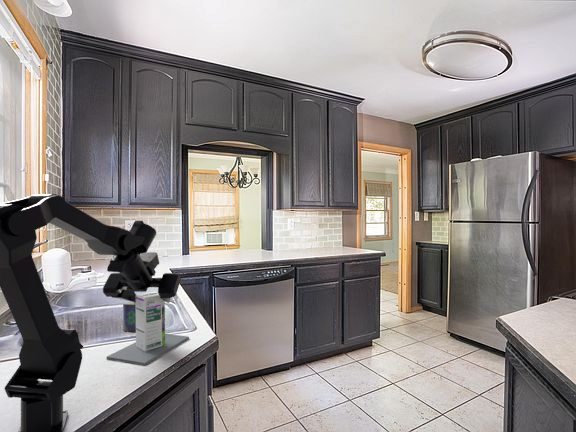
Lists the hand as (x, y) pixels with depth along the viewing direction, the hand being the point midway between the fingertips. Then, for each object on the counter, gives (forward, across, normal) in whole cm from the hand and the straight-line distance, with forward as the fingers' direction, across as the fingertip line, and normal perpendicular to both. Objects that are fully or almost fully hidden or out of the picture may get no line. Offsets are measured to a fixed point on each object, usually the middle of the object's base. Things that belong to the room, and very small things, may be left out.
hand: (153, 301), depth 89 cm
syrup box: (+8, 0, +10) cm, 12 cm away
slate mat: (+8, 0, +10) cm, 13 cm away
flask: (+17, +11, +1) cm, 20 cm away
